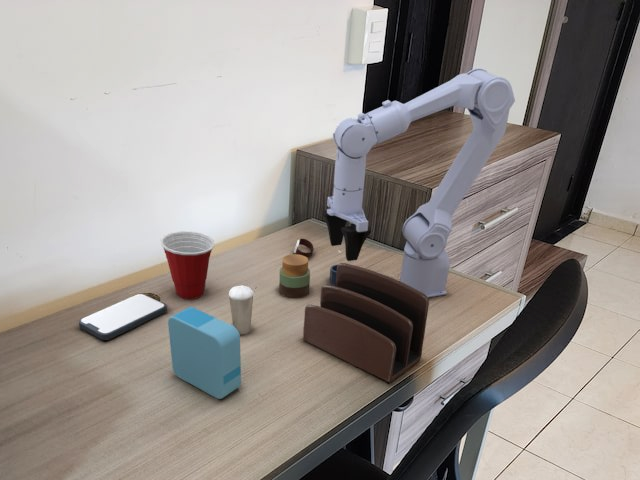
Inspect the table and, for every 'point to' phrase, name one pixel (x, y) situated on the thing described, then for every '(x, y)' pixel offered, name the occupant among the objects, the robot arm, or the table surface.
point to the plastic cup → (188, 261)
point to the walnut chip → (293, 291)
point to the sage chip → (294, 280)
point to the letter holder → (369, 321)
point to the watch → (305, 243)
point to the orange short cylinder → (295, 265)
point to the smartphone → (122, 316)
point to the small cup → (333, 274)
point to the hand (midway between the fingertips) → (343, 252)
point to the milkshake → (241, 308)
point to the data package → (205, 352)
